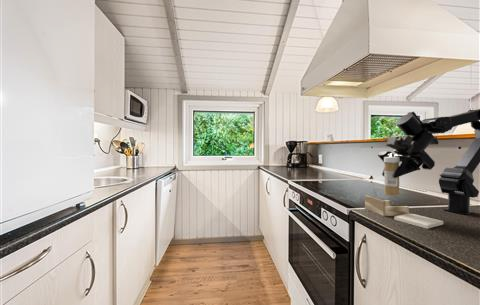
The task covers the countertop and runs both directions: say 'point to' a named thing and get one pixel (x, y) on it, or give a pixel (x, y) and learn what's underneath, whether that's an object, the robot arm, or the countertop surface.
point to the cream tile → (419, 220)
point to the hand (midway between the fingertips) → (388, 176)
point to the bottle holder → (384, 207)
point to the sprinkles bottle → (391, 176)
